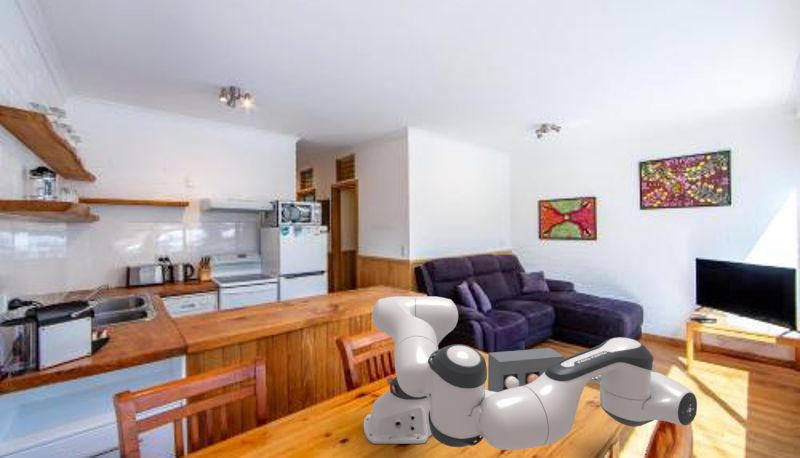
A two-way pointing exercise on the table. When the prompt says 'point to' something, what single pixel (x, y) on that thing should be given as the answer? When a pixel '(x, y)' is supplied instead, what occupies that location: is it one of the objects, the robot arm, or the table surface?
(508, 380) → the cream button
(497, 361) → the control box
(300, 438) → the table surface
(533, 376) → the terracotta button
